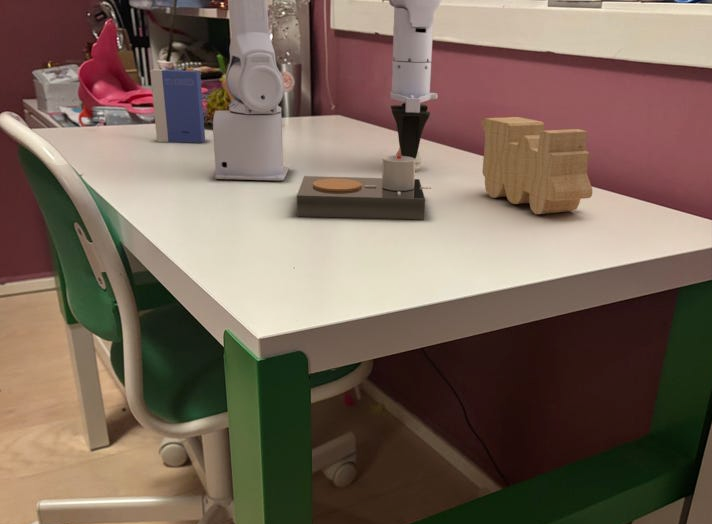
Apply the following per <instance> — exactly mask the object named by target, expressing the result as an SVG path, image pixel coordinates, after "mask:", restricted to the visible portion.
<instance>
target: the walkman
mask: <svg viewBox="0 0 712 524" xmlns="http://www.w3.org/2000/svg"><path fill="white" fill-rule="evenodd" d="M149 74H150V82H151V85H150V86H151V93H152V94H151V95H152V105H153V114H154V123H155V124H154V125H155V134H156V142H161V143H187V144H188V143H195V144H202V143H204V142H205V141H206V132H205V131H206V130H205V125H204V118H205V117H204V107H203V106H204V105H203V93H202V91H203V89H202V78H201V70H195V68H194V67H193V68H191V67H187V68H185V69H161V68H154V69H150V70H149Z"/></svg>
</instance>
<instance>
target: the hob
mask: <svg viewBox="0 0 712 524" xmlns="http://www.w3.org/2000/svg"><path fill="white" fill-rule="evenodd" d="M322 179H349V180H354V181H358V182H360V183H361V184H362V187H361V188H360V189H358V190H353V191H343V192H335V191H324V190H319V189H316V188H314V187H313V182H315V181H317V180H322ZM431 189H432V187H431V186H422V183H421V180H420V178H415V180H414V189H412V190H407V191H393V190H387V189H384V188H382V177H358V176H357V177H356V176H355V177H354V176H352V177H351V176H321V175H320V176H319V175H318V176H316V175H304V176H303V178H302V181H301V184H300V186H299V188H298V191H297V194H296V216H297V217H299V218H301V217H302V218H303V217H305V218H338V219H339V218H340V219H341V218H342V219H344V218H345V219H346V218H347V219H381V220H384V219H385V220H416V221H417V220H419V221H420V220H423V221H424V220H425V213H426V197H425V194H424V190H431Z"/></svg>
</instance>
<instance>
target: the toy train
mask: <svg viewBox="0 0 712 524" xmlns="http://www.w3.org/2000/svg"><path fill="white" fill-rule="evenodd" d="M481 128H482V131H483V134H484V136H485V137H484V149H483V150H484V151H483V159H482V170H481V171H482V172H481V173H482V176H483V177H484V187H485V191H486V193H487V195H488V197H490V198H493V199H496V198H497V199H498V198H507V200H508V202H509V203H510V204H513V205H518V204H528V203H529V207H530V210H531V211H532V212H533V214H535V215H546V214H557V213H566V212H574V211H575V210H577V209H578V207H579V205H580V203H581V200H582V199H583V200H584V199H591V198H592V196H593V187H592V184H591V181H590V179H589V175H588V166H589V158H590V152H589V151H587V150H586V144H587V135H588V131H587V130H583V129H579V128H575V129H574V128H573V129H571V128H570V129H550V130H549V129H547V130H545V124H544V122H543V121H539V120H536V119H531V118H526V117H522V116H521V117H520V116H510V117H508V116H507V117H485V118H483V119H482V121H481Z"/></svg>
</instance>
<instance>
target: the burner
mask: <svg viewBox="0 0 712 524" xmlns="http://www.w3.org/2000/svg"><path fill="white" fill-rule="evenodd" d="M313 187H314V188H316V189H319V190H324V191H335V192H343V191H353V190H358V189H360V188H361V187H362V184H361V183H360V182H358V181H354V180H349V179H322V180H317V181H315V182H313Z"/></svg>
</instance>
